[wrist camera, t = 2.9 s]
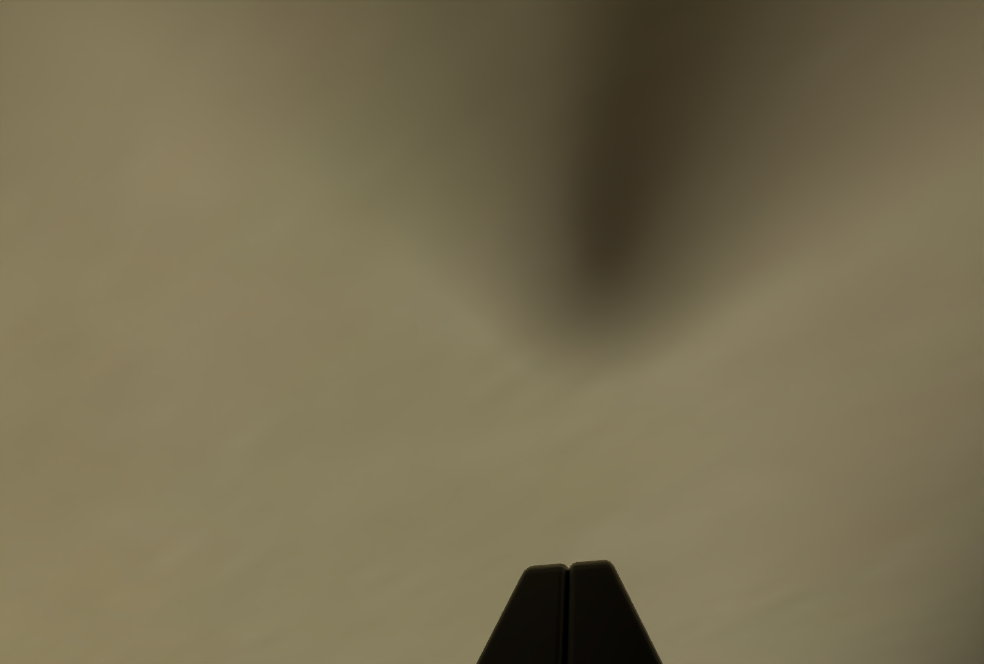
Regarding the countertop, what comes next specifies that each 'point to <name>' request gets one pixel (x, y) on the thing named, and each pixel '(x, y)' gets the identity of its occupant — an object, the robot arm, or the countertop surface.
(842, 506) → the countertop surface
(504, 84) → the countertop surface
